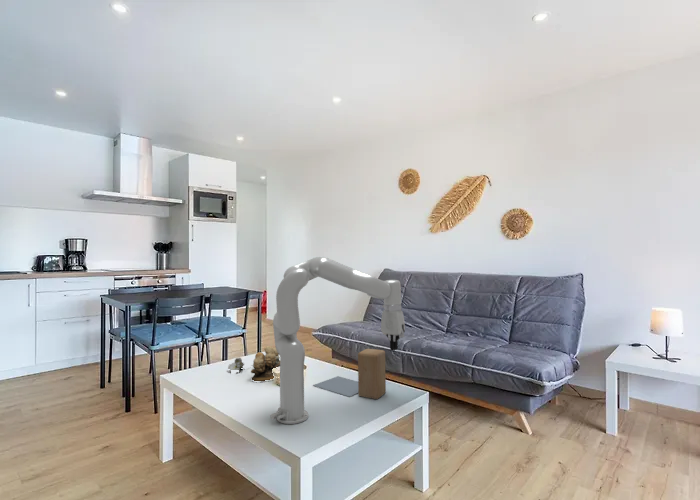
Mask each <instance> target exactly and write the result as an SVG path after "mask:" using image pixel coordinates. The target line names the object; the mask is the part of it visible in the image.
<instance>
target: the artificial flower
mask: <svg viewBox="0 0 700 500" xmlns="http://www.w3.org/2000/svg"><path fill="white" fill-rule="evenodd" d="M243 366H245V363H244V362H243V360H242V358H241V357H237V358H235V359H234V362H231V363H230V364H229V365H228V366H227V370H228V369H230V370H229V371H231V370H240V369H241V368H243V369H244V367H243ZM240 371H241V370H240Z"/></svg>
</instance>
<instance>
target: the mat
mask: <svg viewBox="0 0 700 500" xmlns="http://www.w3.org/2000/svg"><path fill="white" fill-rule="evenodd" d="M312 387H316V388H318V389H320V390H321V389H323V390H326V391H327V392H330V393H334V394H338V395H341V396H344V397H347V398H351V397H354V396H356V395H359V392H358V380H354V379H350V378H346V377H344V376H343V377H342V376H339V375H337V376H335V377H332V378H329V379H326V380H323V381H321V382H318V383H315V384H313V385H312Z"/></svg>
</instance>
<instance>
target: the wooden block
mask: <svg viewBox="0 0 700 500" xmlns="http://www.w3.org/2000/svg"><path fill="white" fill-rule="evenodd" d="M357 363H358V364H357V376H358V378H357V381H358V392H359V393H358V396H359V397H362V398H368V399H374V400H378V399H380V398H381V397H382V396H383V395H385V393H386V389H387V387H386V385H387V384H386V379H387V376H386V351H385V350H383V349H377V348H375V349H374V348H365V349H363V350H362V351H360V352H358V353H357Z"/></svg>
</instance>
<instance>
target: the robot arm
mask: <svg viewBox="0 0 700 500" xmlns="http://www.w3.org/2000/svg"><path fill="white" fill-rule="evenodd" d="M316 278H321V279H323V280H326V281H328V282H332V283H334V284H337V285H338V286H340V287H344V288H347V289H350V290H355V291H358V292H362V293H364V294H366V295H367V296H369V297H370V298H375V299H377V300H378V299H379V300H383V304H382V306H381V307H382V308H383V310H382V311H381V321H380V330H381V333H382V335H383V336H385V337H387V338H388V341H389V348H390V351H397V350H398V346H399V345H398V341H399V339H401V338H402V339H403V338H405V332H406V331H405V330H406V327H405V325H406V324H405V317H404V312H403V311H402V292H401V290H402V288H401V281H400V280H398V279H387V280H382V279H379V278H377V277H375V276H373V275H369V274H367V273H364V272H362V271H359V270H358V269H355V268H352V267H349V266H347V265H346V264H343V263H340V262H338V261H336V260H333V259H330V258H328V257H325V256H316V257H313V258H310V259H307V260H305V261H303V262H300V263H297V264H295V265H293V266H290V267H288V268H287V269H286V270H285V271H284V274H283V279H282V280H281V281H280V283H279V284H278V286H277V291H276V295H275V299H276V300H275V303H276V313H275V314H274V316H273V318H272V319H273V320H272V325H273V326H272V328H273V329H272V330H273V337H274V338H273V339H274V346H275V347H274V348H276V350H277V352H278V354H279V357H280V358H279V360H280V366H279V371H280V378H279V400H280V401H279V406H280V407H278V408H277V411H276V412H274V413H271V414H270V416H269V417H270V420H274V419H276V420H277V422H279V423H281V424H285V425H293V424H295V425H296V424H300V423H303V422H305V421H306V420H307V419H309V412H308V411H306V410H305V358H306V351H305V350H306V349H305V347H304V344H303V343H302V341H300V340H299V338H298V336H297V333H298V332H299V330H300V327H301V319H300V313H299V312H300V311H299V294H300V292H301V291H302V289H303V288H305V287H306V286H307V285H308V283H309V281H311V280H314V279H316Z"/></svg>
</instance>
